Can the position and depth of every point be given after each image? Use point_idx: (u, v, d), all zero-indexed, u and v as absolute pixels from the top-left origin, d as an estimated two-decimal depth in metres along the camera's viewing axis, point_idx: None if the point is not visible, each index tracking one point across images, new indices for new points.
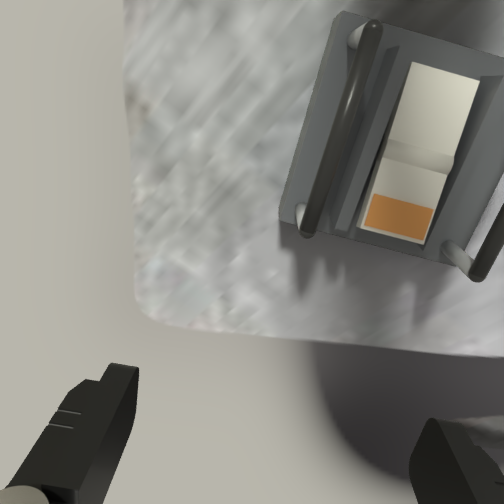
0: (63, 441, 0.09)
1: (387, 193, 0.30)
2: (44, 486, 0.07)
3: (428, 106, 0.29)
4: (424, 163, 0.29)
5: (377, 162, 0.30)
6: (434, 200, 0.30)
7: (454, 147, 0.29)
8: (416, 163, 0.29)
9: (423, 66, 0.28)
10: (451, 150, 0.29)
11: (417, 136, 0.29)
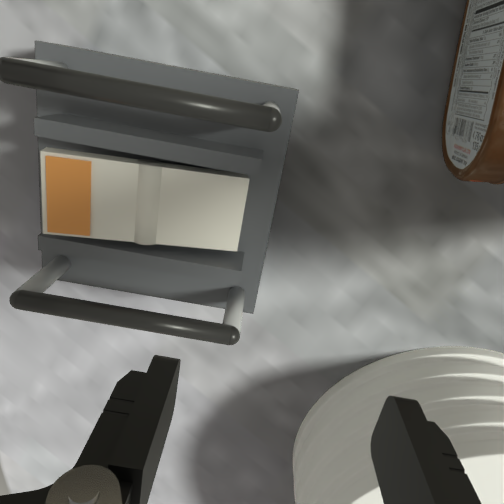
0: (119, 427, 0.09)
1: (95, 178, 0.24)
2: (110, 466, 0.08)
3: (205, 205, 0.26)
4: (141, 214, 0.25)
5: (133, 160, 0.25)
6: (101, 233, 0.25)
7: (165, 242, 0.26)
8: (139, 205, 0.25)
9: (245, 191, 0.26)
10: (162, 240, 0.26)
11: (170, 200, 0.25)
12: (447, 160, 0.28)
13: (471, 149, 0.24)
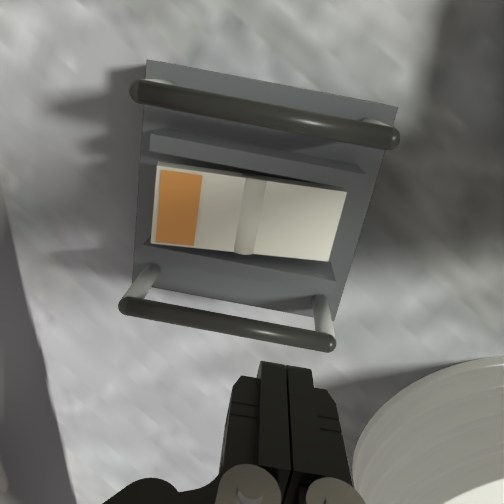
0: (248, 430, 0.10)
1: (204, 191, 0.25)
2: (260, 467, 0.08)
3: (303, 217, 0.27)
4: (243, 225, 0.26)
5: (238, 174, 0.26)
6: (203, 243, 0.26)
7: (262, 252, 0.27)
8: (242, 217, 0.26)
9: (342, 204, 0.27)
10: (259, 250, 0.27)
11: (271, 212, 0.26)
12: None
13: None
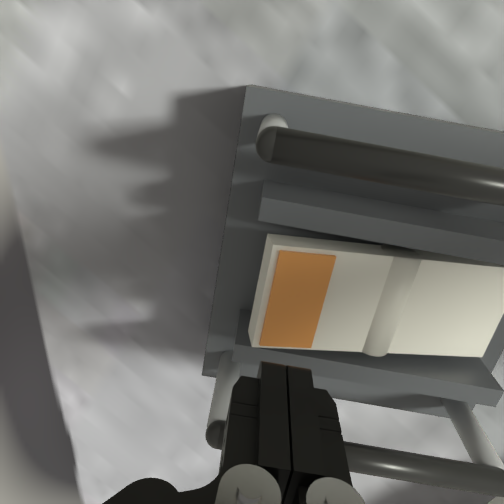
0: (248, 430, 0.10)
1: (335, 276, 0.17)
2: (260, 467, 0.08)
3: (460, 304, 0.19)
4: (381, 319, 0.18)
5: (378, 248, 0.18)
6: (324, 344, 0.19)
7: (399, 351, 0.20)
8: (382, 308, 0.18)
9: None
10: (396, 348, 0.20)
11: (420, 300, 0.19)
12: None
13: None
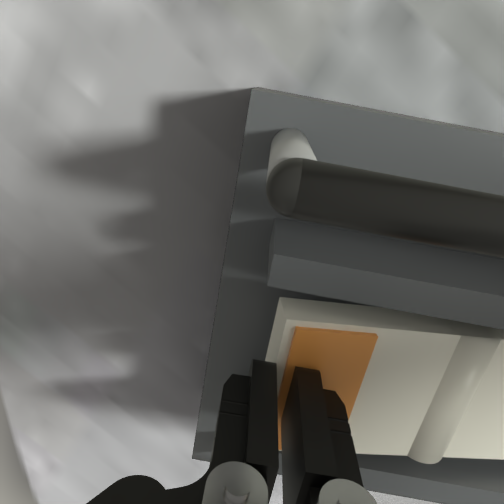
0: (238, 427, 0.10)
1: (375, 361, 0.12)
2: (248, 464, 0.08)
3: None
4: (438, 417, 0.13)
5: (436, 319, 0.13)
6: (355, 446, 0.14)
7: (459, 454, 0.14)
8: (439, 403, 0.13)
9: None
10: (455, 451, 0.14)
11: (494, 391, 0.13)
12: None
13: None
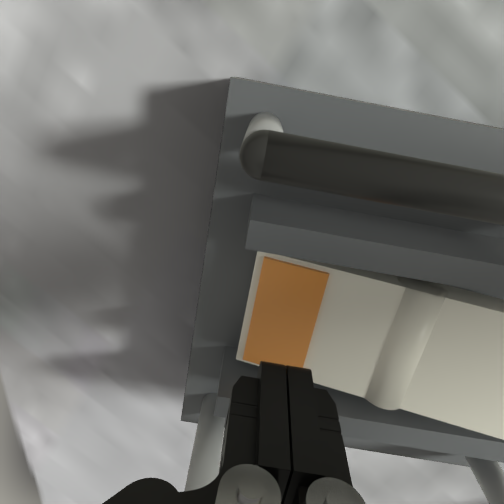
0: (248, 429, 0.10)
1: (329, 298, 0.15)
2: (260, 467, 0.08)
3: None
4: (388, 363, 0.15)
5: (393, 275, 0.15)
6: (317, 376, 0.16)
7: (415, 410, 0.16)
8: (389, 349, 0.15)
9: None
10: (412, 405, 0.16)
11: (444, 350, 0.15)
12: None
13: None
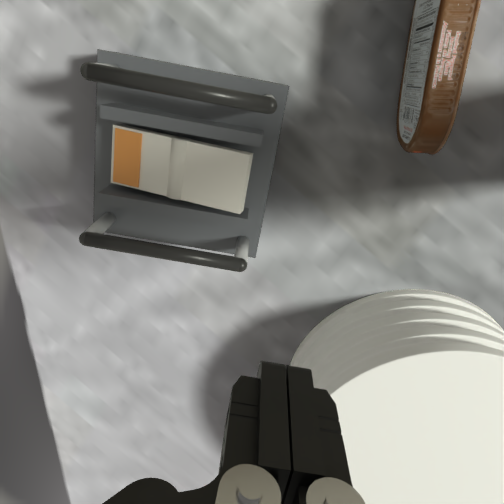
0: (248, 429, 0.10)
1: (144, 145, 0.34)
2: (260, 467, 0.08)
3: (216, 173, 0.34)
4: (171, 175, 0.34)
5: (171, 136, 0.34)
6: (145, 187, 0.36)
7: (187, 199, 0.35)
8: (170, 168, 0.34)
9: (246, 165, 0.33)
10: (185, 197, 0.35)
11: (192, 167, 0.34)
12: (399, 138, 0.37)
13: (413, 128, 0.34)
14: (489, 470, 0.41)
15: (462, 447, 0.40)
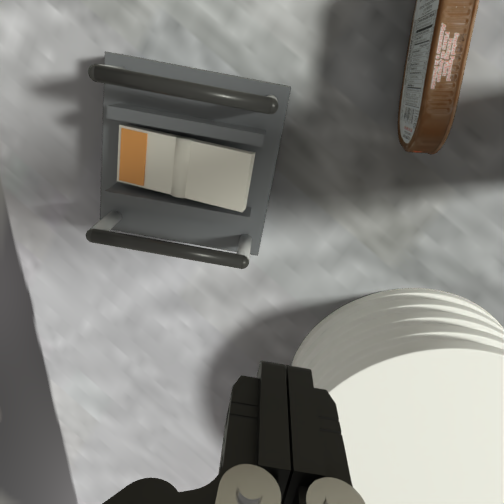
0: (248, 429, 0.10)
1: (149, 145, 0.35)
2: (259, 467, 0.08)
3: (219, 172, 0.34)
4: (175, 173, 0.35)
5: (176, 135, 0.35)
6: (150, 185, 0.36)
7: (191, 198, 0.36)
8: (174, 167, 0.35)
9: (248, 164, 0.34)
10: (189, 195, 0.36)
11: (195, 166, 0.35)
12: (400, 138, 0.38)
13: (412, 128, 0.34)
14: (489, 468, 0.41)
15: (462, 445, 0.40)
